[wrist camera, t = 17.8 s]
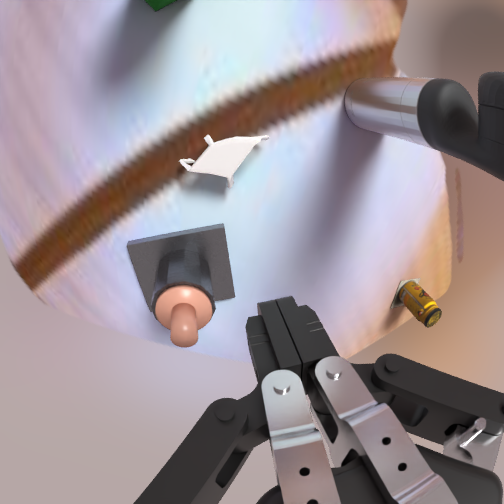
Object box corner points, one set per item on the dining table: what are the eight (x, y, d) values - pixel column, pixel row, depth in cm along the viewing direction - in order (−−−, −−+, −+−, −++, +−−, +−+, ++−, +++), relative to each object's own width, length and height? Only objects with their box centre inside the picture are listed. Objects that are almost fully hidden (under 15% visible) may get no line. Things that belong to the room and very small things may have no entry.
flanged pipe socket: (223, 223, 45) (232, 255, 36) (234, 292, 52) (244, 332, 43) (128, 241, 43) (114, 276, 34) (151, 306, 50) (146, 347, 41)
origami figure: (213, 196, 43) (215, 207, 39) (177, 156, 39) (175, 162, 35) (275, 149, 41) (284, 154, 37) (242, 105, 37) (249, 105, 33)
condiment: (420, 277, 62) (448, 305, 52) (409, 304, 67) (434, 332, 56) (400, 280, 61) (429, 310, 51) (389, 308, 65) (415, 339, 55)
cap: (204, 270, 40) (209, 309, 32) (214, 312, 44) (220, 353, 36) (150, 279, 39) (144, 320, 31) (165, 320, 43) (163, 361, 35)
